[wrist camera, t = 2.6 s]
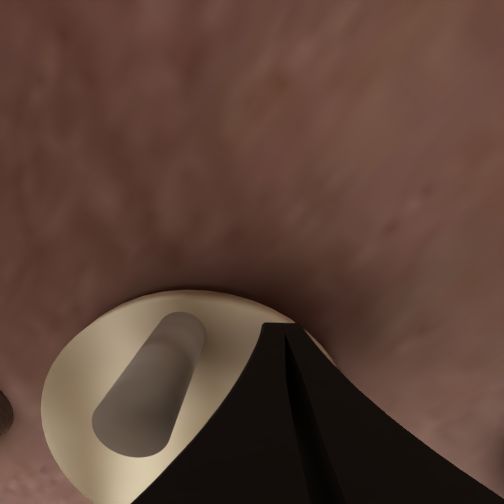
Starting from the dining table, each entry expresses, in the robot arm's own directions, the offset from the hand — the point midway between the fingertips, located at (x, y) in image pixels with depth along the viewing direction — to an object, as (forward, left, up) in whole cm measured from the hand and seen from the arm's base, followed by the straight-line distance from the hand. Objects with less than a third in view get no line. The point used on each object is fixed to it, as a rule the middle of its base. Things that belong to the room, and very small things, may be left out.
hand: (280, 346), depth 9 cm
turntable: (-4, -6, -3) cm, 8 cm away
